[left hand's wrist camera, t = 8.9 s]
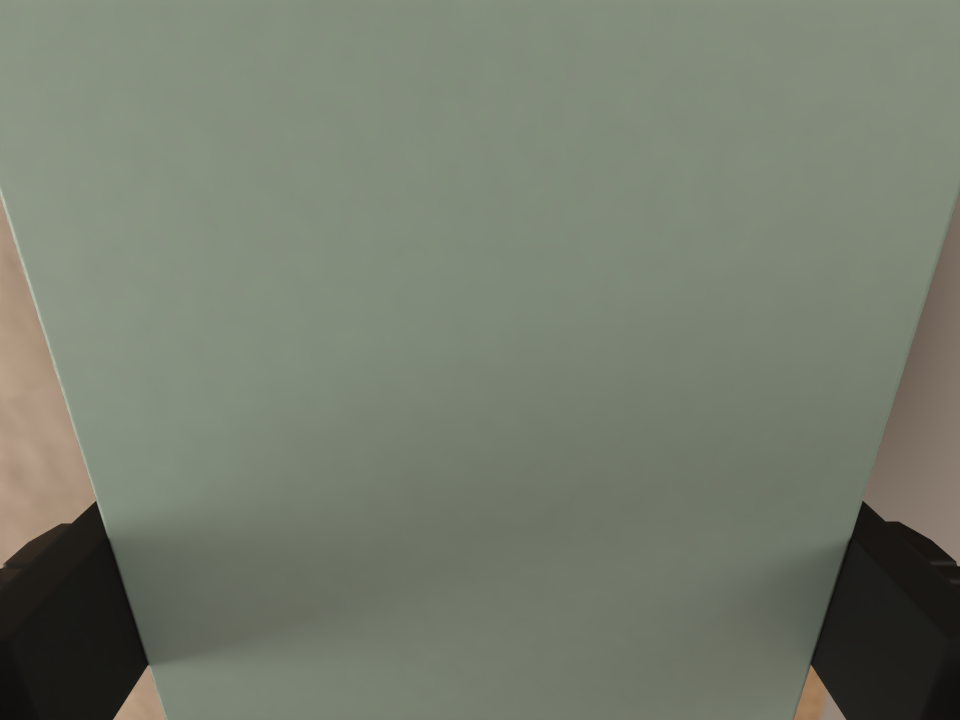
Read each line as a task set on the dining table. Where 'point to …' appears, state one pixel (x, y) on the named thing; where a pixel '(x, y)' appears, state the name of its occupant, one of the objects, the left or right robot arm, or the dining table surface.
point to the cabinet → (479, 333)
